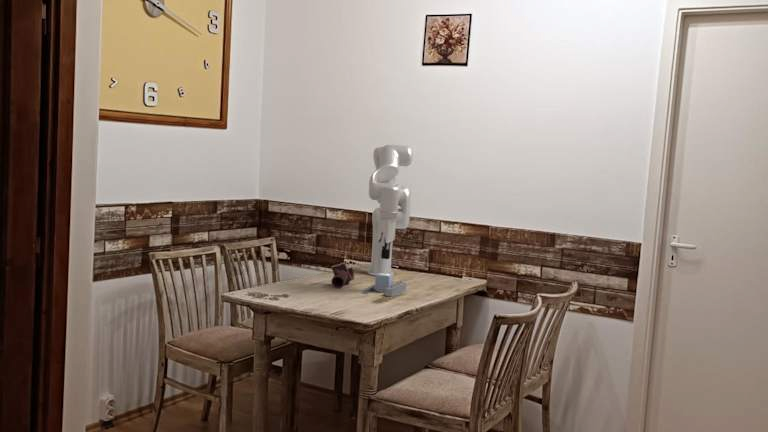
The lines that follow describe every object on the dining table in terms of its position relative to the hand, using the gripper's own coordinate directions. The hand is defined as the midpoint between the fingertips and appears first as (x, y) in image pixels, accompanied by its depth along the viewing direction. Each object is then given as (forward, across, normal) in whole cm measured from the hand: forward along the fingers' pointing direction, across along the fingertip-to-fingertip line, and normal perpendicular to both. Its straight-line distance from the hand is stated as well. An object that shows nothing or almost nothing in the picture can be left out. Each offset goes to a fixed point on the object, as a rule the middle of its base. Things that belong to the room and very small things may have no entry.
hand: (385, 258), depth 325 cm
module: (+14, +1, +1) cm, 14 cm away
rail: (+14, +2, +1) cm, 14 cm away
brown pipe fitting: (+14, 0, -19) cm, 24 cm away
